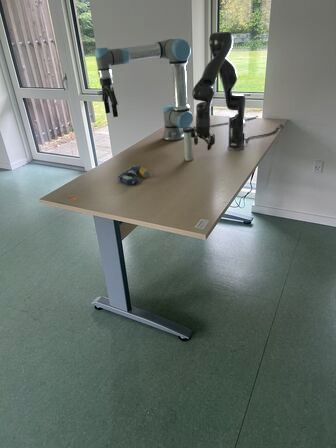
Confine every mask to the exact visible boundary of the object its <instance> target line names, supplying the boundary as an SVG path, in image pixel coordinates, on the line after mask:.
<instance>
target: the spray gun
mask: <svg viewBox="0 0 336 448" xmlns="http://www.w3.org/2000/svg"><path fill="white" fill-rule="evenodd" d="M138 174H139V175H140V176H142V177H143V178H144V179H147V178H149V177H150V171H149V170H148V169H146V168H145V167H141V165H140V164H138V165H131V166H130V167H129V168H127V169H126V170H125V171H123V172H122V173H120V174H119V175H118V176H117V179H116V182H119V183H124V184H126V186H127V185H128V186H129V185H135V184H136V183H138V182H139V177H138Z"/></svg>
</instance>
